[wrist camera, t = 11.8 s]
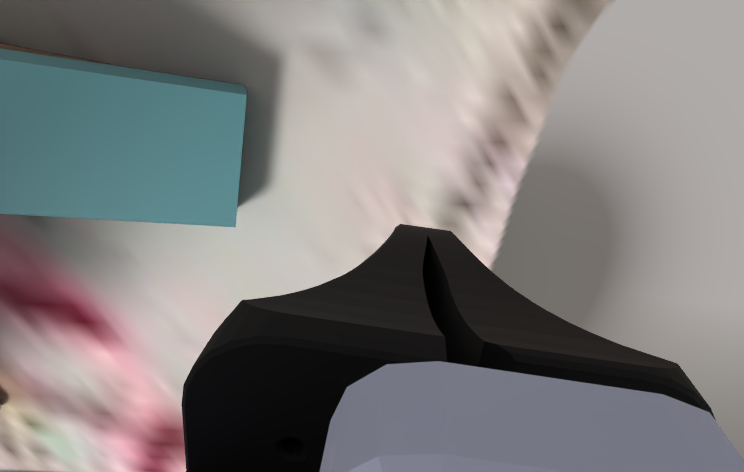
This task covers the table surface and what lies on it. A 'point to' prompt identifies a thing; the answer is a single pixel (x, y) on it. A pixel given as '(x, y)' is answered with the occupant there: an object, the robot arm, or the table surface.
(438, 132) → the table surface
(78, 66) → the teal domino
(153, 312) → the table surface
